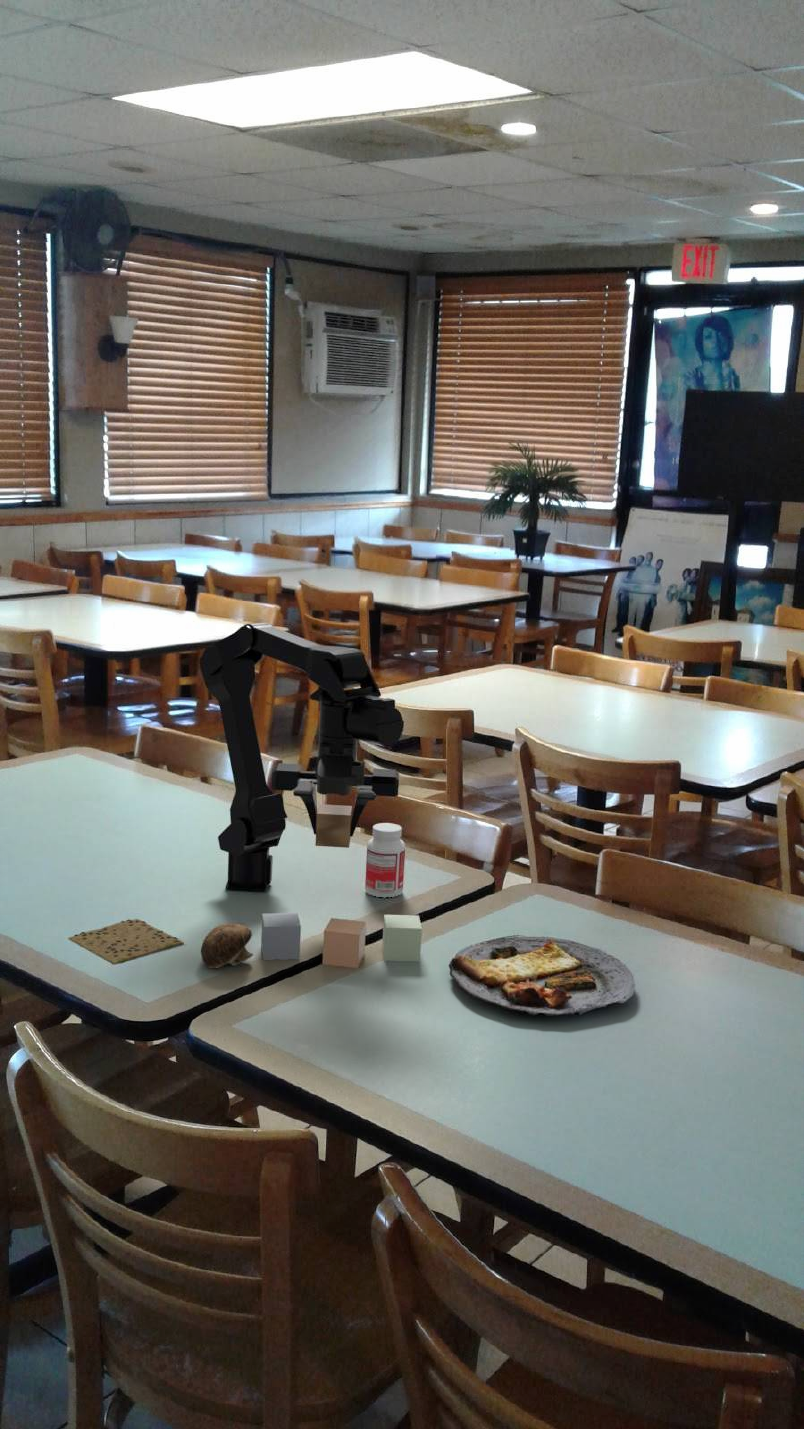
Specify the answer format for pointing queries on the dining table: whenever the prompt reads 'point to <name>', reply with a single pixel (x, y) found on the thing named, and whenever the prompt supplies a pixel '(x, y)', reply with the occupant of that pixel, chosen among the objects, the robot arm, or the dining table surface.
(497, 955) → the food plate
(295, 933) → the slate cube
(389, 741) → the robot arm
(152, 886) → the dining table surface
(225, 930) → the mushroom
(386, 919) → the sage cube
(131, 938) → the cookie
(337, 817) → the walnut cube
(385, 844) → the pill bottle
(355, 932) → the terracotta cube
